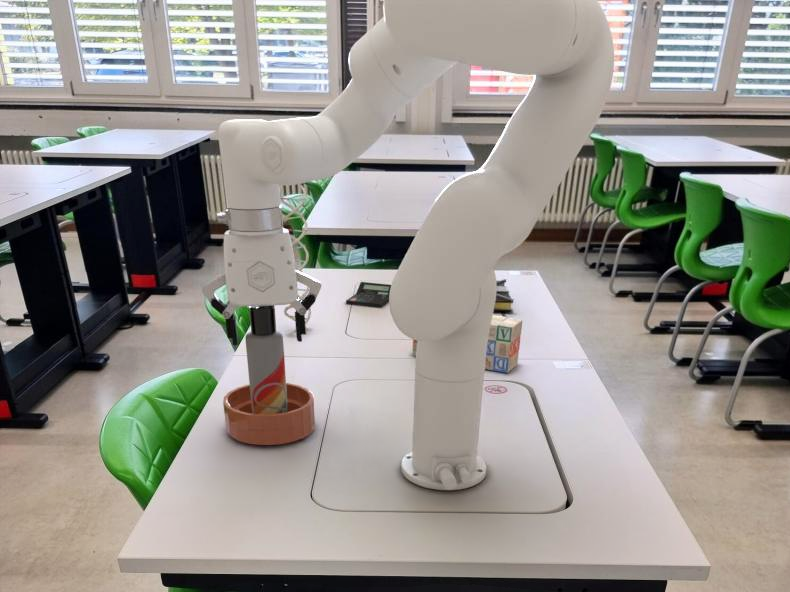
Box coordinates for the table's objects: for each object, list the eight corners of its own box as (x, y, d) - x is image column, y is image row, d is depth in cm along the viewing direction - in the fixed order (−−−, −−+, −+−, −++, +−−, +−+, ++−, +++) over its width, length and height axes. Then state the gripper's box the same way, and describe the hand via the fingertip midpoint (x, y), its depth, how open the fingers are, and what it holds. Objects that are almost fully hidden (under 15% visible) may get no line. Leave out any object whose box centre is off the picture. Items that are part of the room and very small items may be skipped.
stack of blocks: (518, 365, 149) (525, 304, 142) (507, 374, 144) (513, 311, 138) (424, 347, 157) (426, 288, 150) (411, 355, 152) (413, 295, 146)
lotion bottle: (281, 435, 117) (273, 308, 106) (248, 431, 117) (236, 305, 107) (293, 421, 121) (286, 298, 111) (260, 417, 122) (250, 296, 111)
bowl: (317, 446, 115) (316, 413, 112) (225, 450, 113) (221, 417, 110) (311, 410, 127) (310, 380, 124) (228, 414, 124) (224, 383, 122)
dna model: (299, 326, 168) (291, 183, 152) (318, 332, 164) (313, 186, 148) (277, 333, 163) (267, 185, 147) (297, 339, 160) (289, 189, 144)
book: (442, 290, 199) (443, 271, 196) (504, 292, 198) (506, 273, 196) (445, 312, 180) (446, 291, 178) (513, 314, 180) (515, 294, 177)
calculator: (346, 303, 185) (346, 291, 183) (361, 293, 194) (361, 281, 193) (381, 307, 183) (381, 295, 181) (394, 296, 192) (395, 284, 191)
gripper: (190, 226, 98) (208, 351, 107) (319, 222, 101) (326, 345, 110) (194, 218, 104) (211, 336, 113) (315, 214, 107) (322, 331, 116)
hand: (267, 340), depth 111 cm, fingers open, 9 cm apart
